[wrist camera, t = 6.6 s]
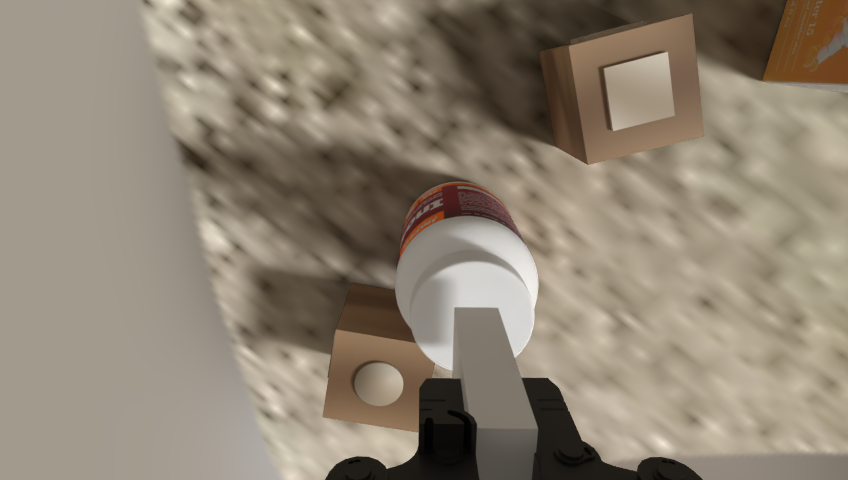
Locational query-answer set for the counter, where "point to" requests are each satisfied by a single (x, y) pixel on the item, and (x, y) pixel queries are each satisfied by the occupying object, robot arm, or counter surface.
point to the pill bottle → (463, 267)
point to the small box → (811, 46)
